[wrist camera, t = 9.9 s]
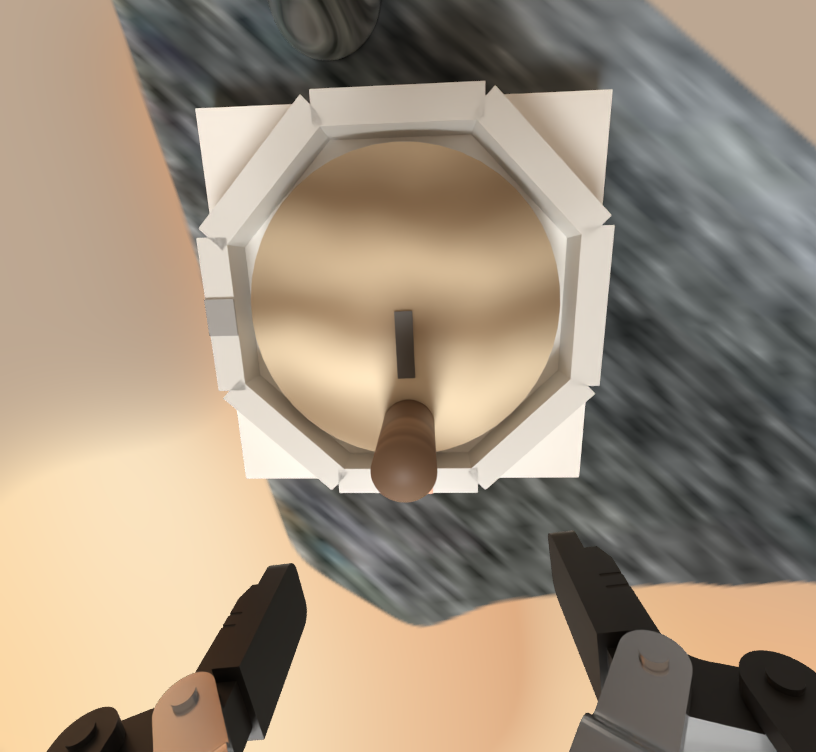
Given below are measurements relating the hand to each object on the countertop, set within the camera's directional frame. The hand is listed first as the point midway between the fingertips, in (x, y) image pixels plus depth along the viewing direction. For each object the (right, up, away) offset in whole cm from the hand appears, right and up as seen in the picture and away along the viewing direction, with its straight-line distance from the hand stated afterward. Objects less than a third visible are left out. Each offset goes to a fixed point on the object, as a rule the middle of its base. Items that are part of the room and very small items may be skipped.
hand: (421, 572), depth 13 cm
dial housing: (0, +11, +13) cm, 17 cm away
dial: (-1, +10, +11) cm, 15 cm away
